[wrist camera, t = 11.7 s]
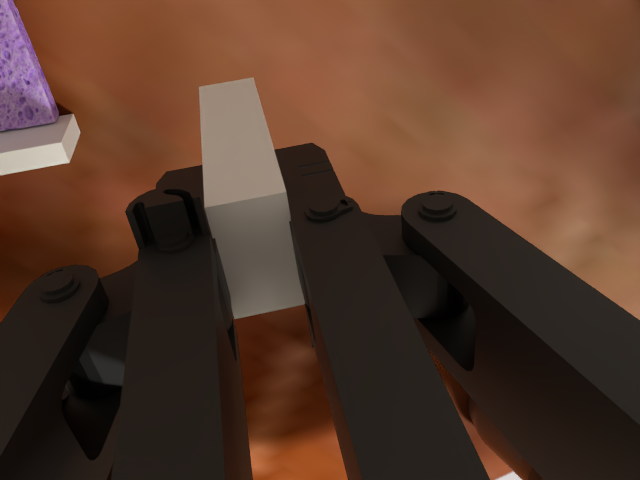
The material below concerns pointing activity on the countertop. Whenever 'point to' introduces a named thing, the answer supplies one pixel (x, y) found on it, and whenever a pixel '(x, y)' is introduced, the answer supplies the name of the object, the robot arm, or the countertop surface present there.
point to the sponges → (21, 76)
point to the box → (38, 145)
